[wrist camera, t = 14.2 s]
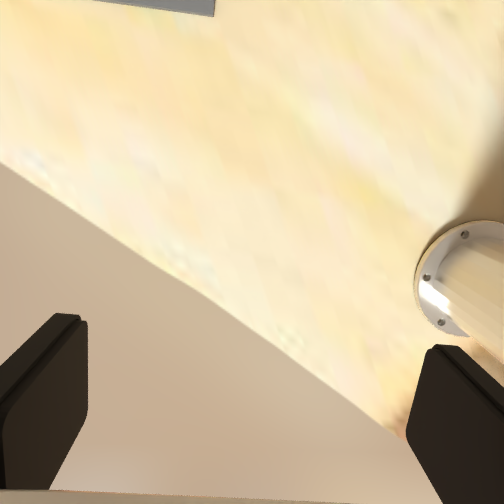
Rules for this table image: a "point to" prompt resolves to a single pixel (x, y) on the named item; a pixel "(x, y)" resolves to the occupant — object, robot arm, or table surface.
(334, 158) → the table surface
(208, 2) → the charcoal mat
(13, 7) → the table surface
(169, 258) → the table surface
